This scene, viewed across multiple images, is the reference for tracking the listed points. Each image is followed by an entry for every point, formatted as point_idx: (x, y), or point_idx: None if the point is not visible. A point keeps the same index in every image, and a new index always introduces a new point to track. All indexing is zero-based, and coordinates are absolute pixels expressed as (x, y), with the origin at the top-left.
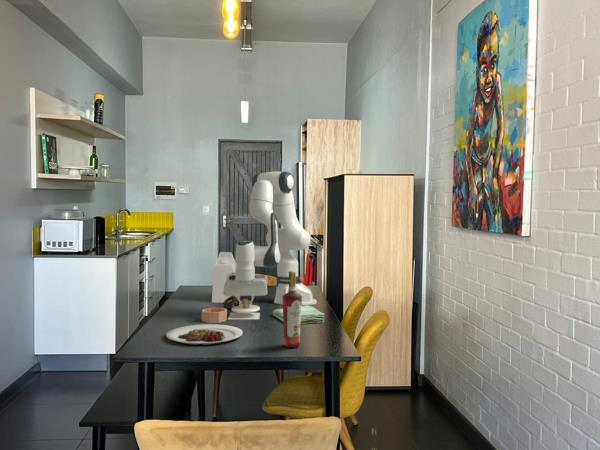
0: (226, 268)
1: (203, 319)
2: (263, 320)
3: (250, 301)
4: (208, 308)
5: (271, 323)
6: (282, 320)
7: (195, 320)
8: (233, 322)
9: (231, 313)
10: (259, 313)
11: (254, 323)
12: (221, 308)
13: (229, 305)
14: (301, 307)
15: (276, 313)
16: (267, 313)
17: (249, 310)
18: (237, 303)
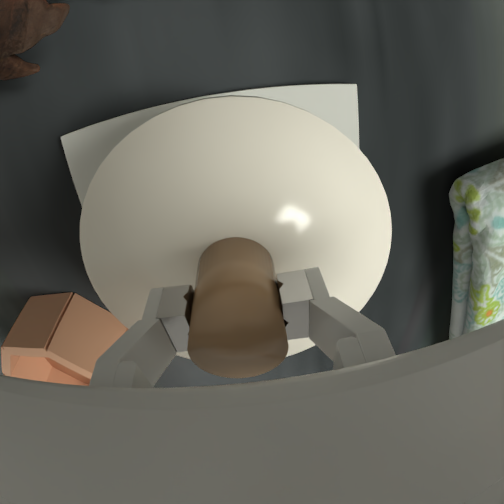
0: None
1: (58, 380)
2: (371, 300)
3: (307, 332)
4: (10, 365)
5: (398, 343)
6: (454, 319)
7: (8, 332)
8: (193, 362)
9: (79, 161)
10: (355, 118)
11: (315, 361)
12: (68, 367)
13: (1, 77)
14: None
15: (472, 242)
16: (412, 61)
17: (289, 345)
18: (60, 21)
